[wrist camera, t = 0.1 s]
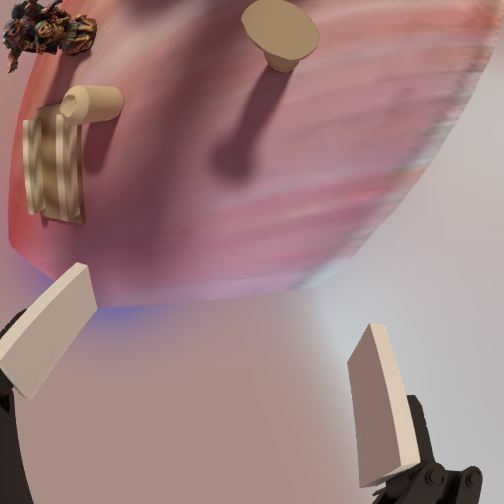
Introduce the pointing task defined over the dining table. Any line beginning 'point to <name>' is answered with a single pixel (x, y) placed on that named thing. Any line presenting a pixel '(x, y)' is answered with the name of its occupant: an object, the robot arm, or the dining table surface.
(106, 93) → the candle
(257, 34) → the handle
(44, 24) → the figurine
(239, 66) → the dining table surface
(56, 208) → the rack
